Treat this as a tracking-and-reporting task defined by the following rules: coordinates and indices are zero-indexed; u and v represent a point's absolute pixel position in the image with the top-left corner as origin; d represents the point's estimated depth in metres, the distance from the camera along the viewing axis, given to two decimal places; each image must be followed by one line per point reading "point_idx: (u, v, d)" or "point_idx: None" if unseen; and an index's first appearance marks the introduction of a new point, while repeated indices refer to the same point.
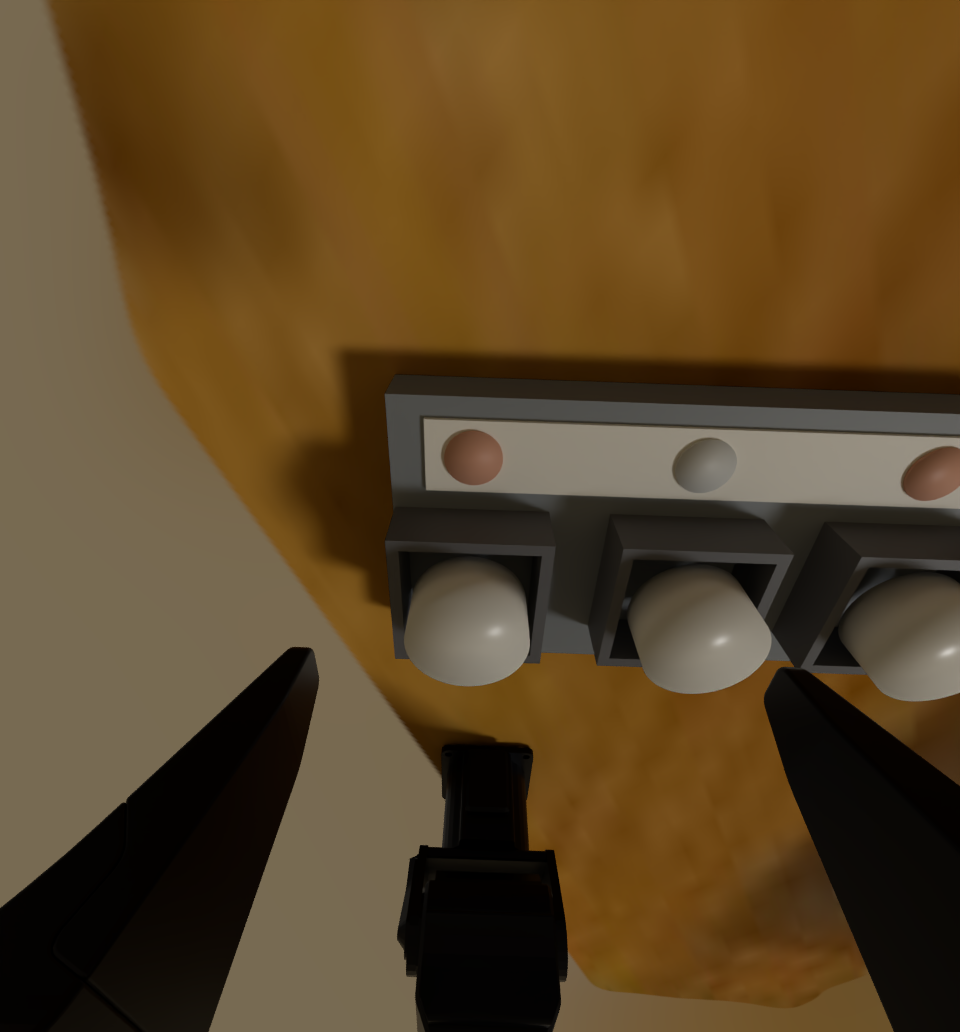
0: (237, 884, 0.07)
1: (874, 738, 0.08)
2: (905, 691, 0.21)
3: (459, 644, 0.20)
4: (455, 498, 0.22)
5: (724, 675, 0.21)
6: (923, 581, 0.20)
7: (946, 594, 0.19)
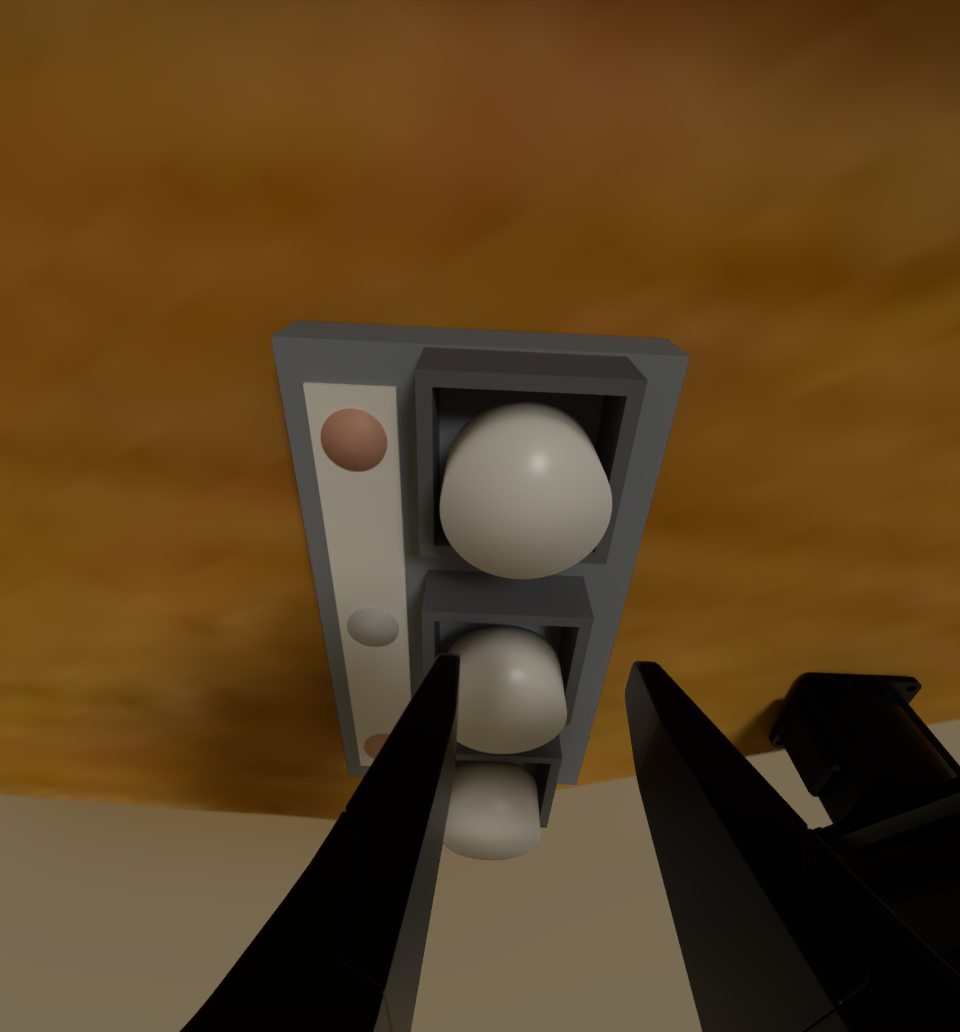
0: (429, 891, 0.07)
1: (697, 731, 0.08)
2: (587, 531, 0.15)
3: (489, 839, 0.25)
4: None
5: (539, 699, 0.19)
6: None
7: None
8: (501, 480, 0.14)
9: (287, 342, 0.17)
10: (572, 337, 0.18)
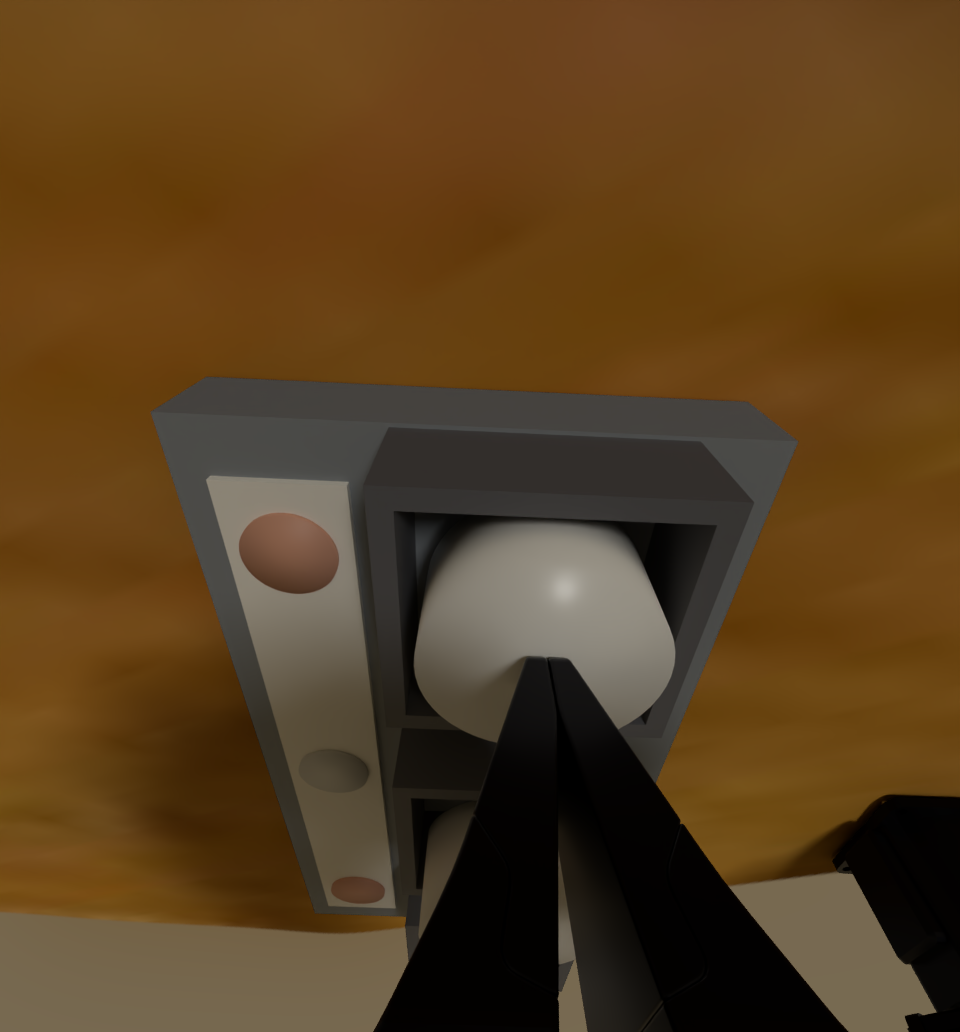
0: None
1: (592, 727, 0.08)
2: (634, 693, 0.10)
3: None
4: None
5: (560, 922, 0.13)
6: None
7: None
8: (507, 630, 0.09)
9: (176, 420, 0.11)
10: (611, 402, 0.12)
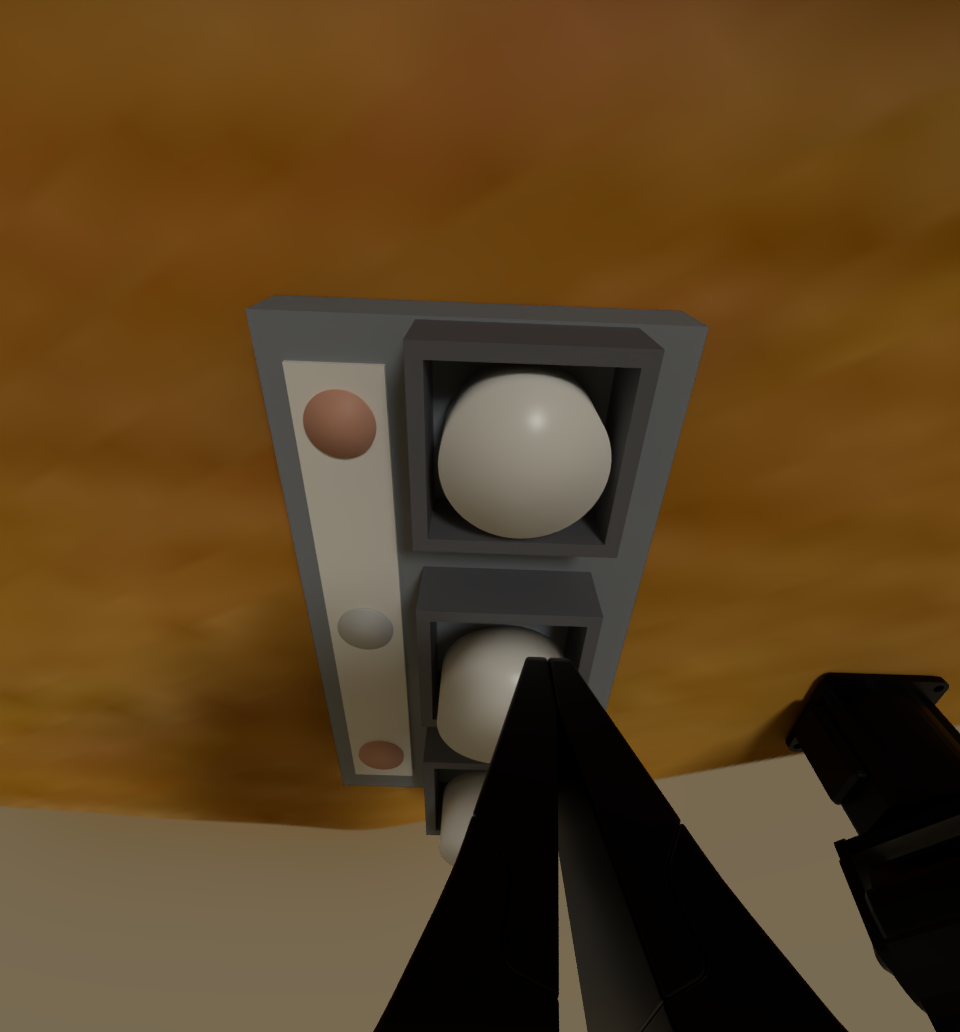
0: None
1: (592, 727, 0.08)
2: (586, 487, 0.15)
3: None
4: (420, 760, 0.28)
5: None
6: None
7: None
8: (500, 434, 0.14)
9: (263, 315, 0.15)
10: (578, 309, 0.17)
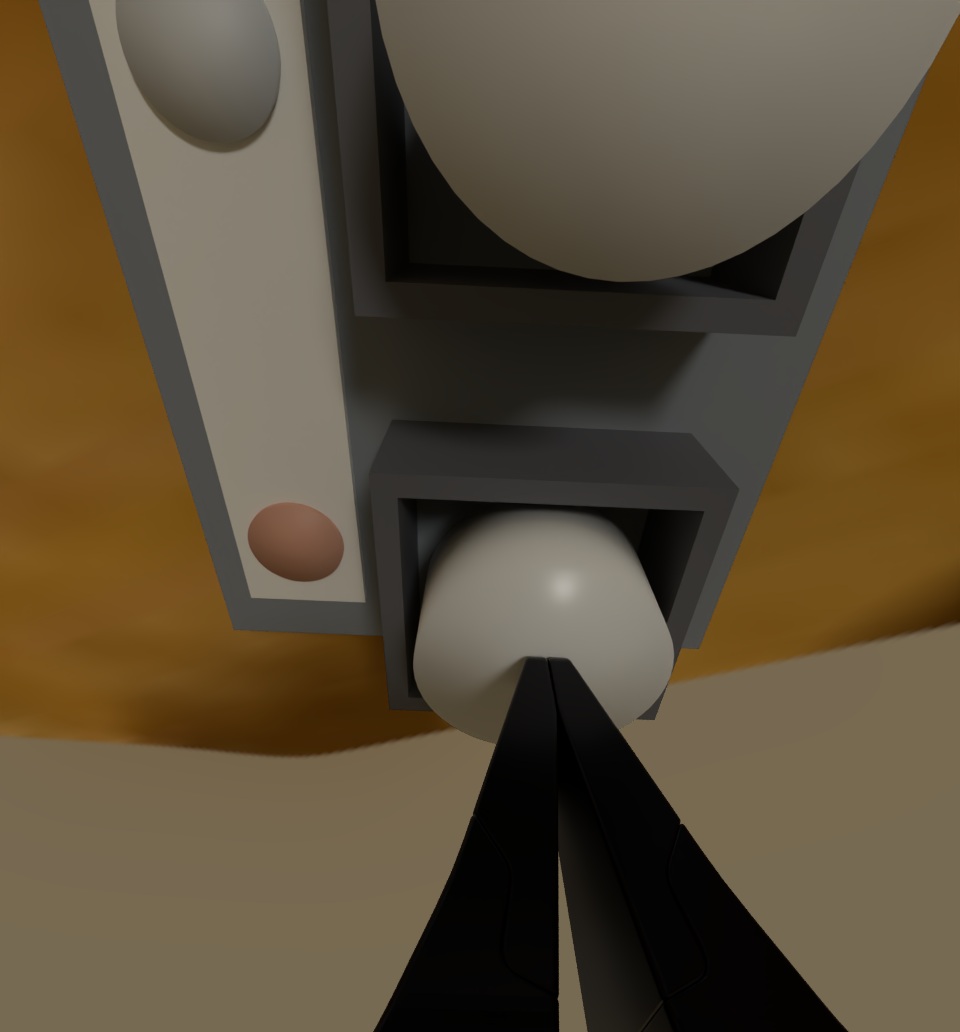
0: None
1: (592, 727, 0.08)
2: None
3: None
4: None
5: None
6: None
7: None
8: None
9: None
10: None
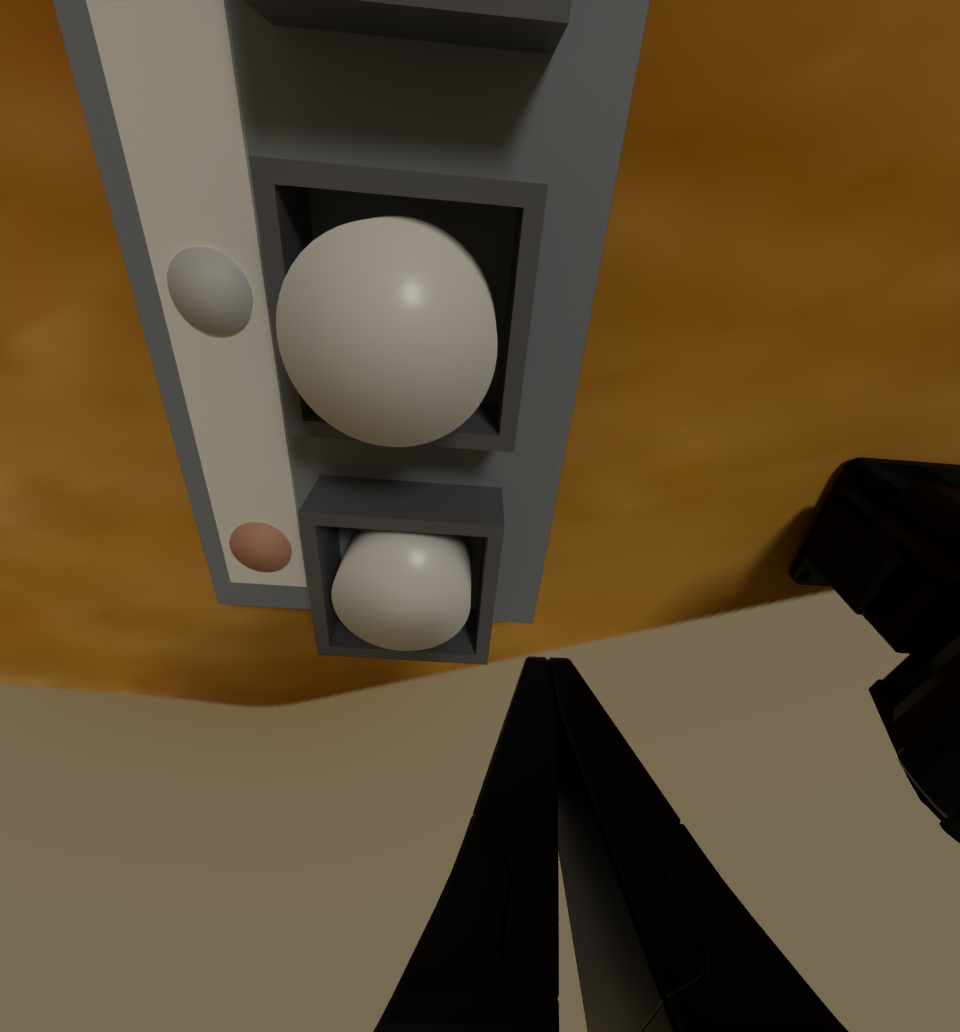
0: None
1: (592, 727, 0.08)
2: None
3: (400, 608, 0.18)
4: None
5: (446, 297, 0.11)
6: None
7: None
8: None
9: None
10: None
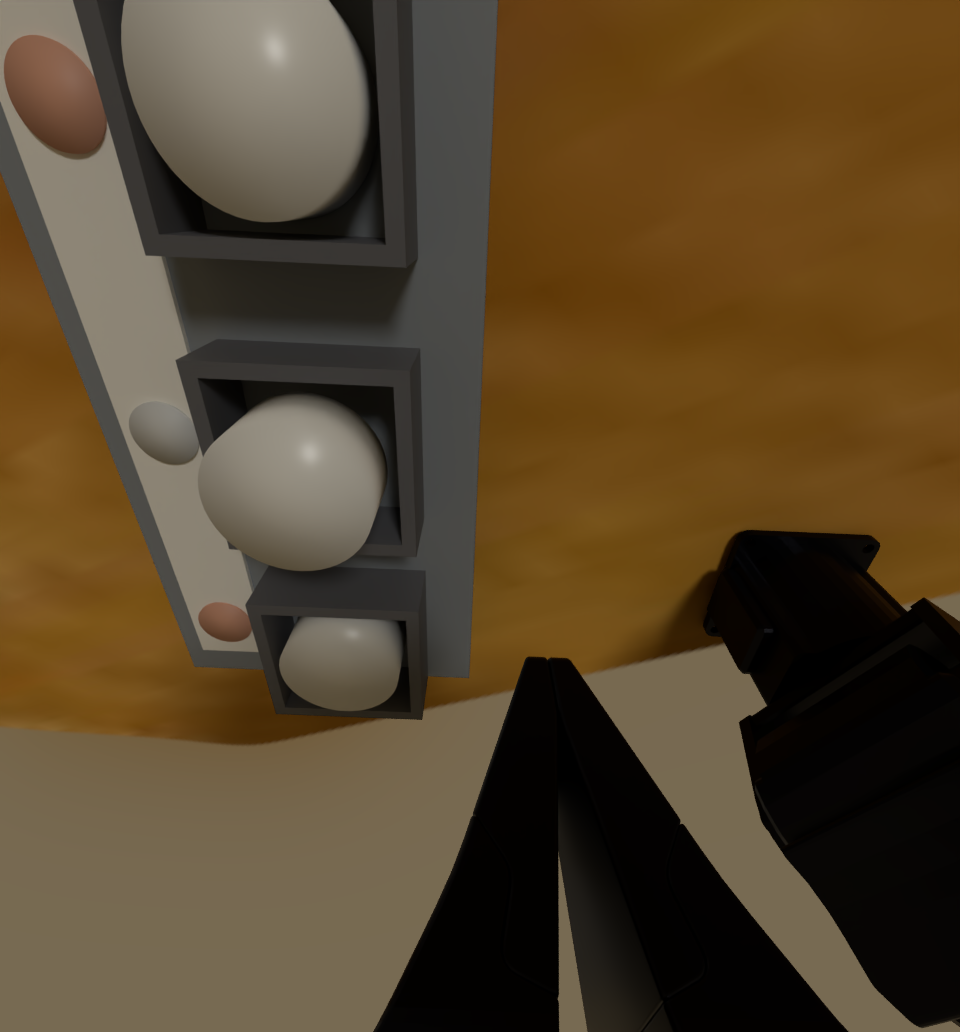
0: None
1: (592, 727, 0.08)
2: (332, 126, 0.11)
3: (339, 678, 0.21)
4: None
5: (326, 470, 0.14)
6: None
7: None
8: (195, 23, 0.10)
9: None
10: None
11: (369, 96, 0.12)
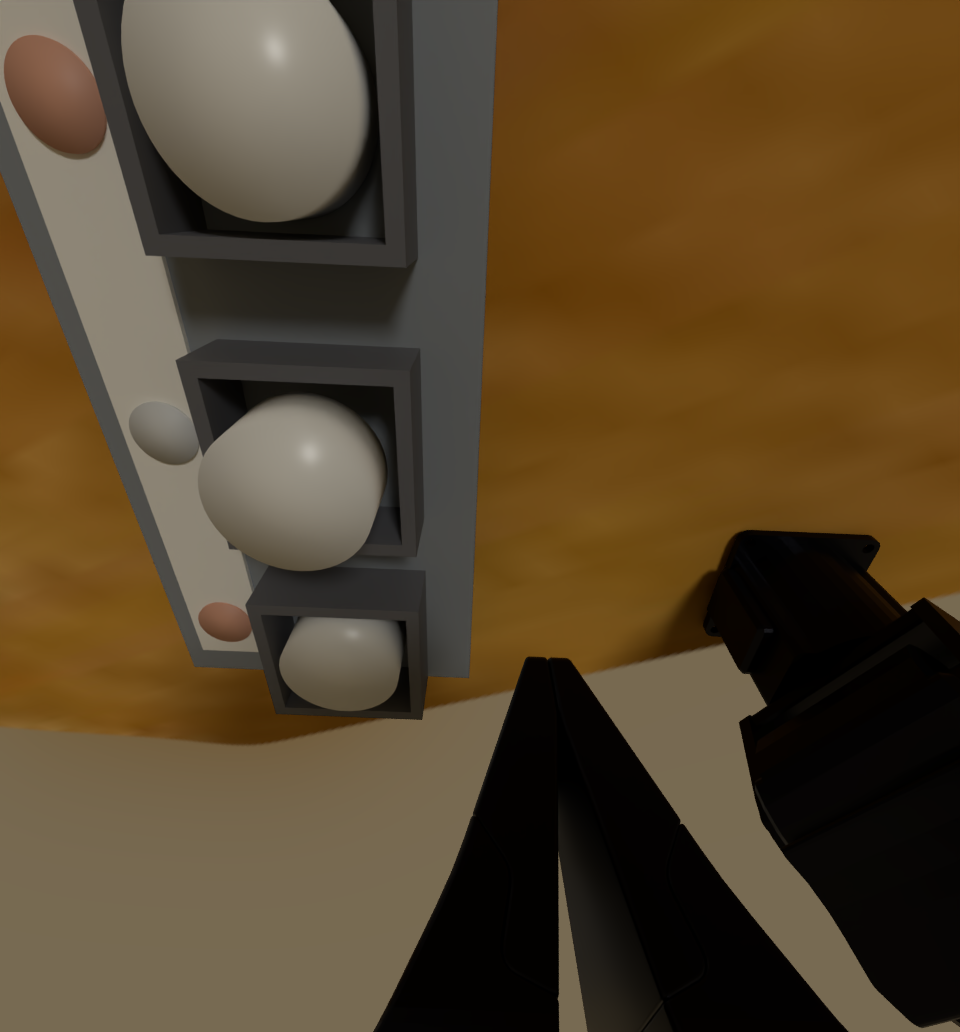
0: None
1: (592, 727, 0.08)
2: (332, 126, 0.11)
3: (339, 678, 0.21)
4: None
5: (326, 470, 0.14)
6: None
7: None
8: (195, 23, 0.10)
9: None
10: None
11: (369, 96, 0.12)
